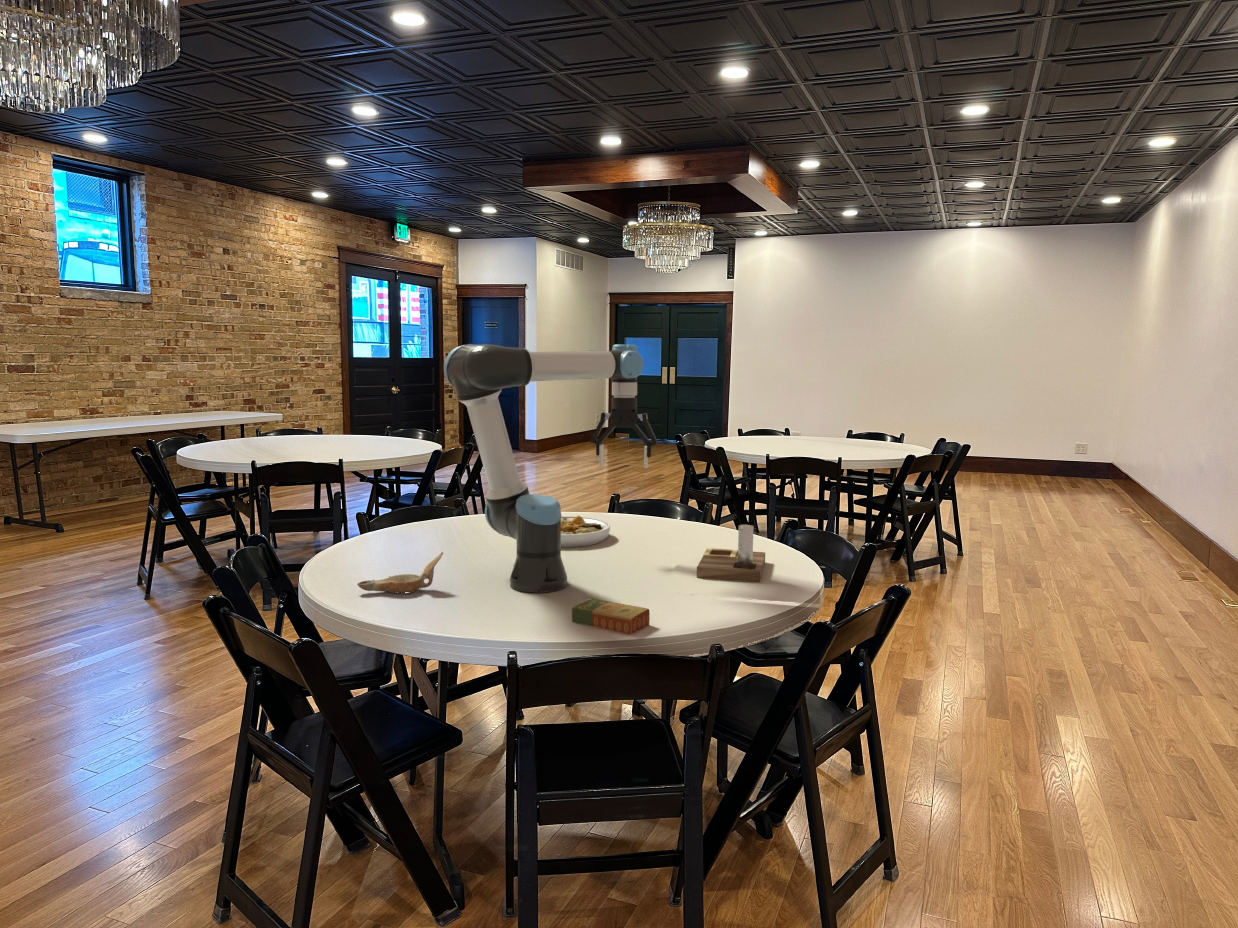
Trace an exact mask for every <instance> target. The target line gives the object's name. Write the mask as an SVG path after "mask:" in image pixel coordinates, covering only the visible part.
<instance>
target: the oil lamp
mask: <svg viewBox="0 0 1238 928" xmlns="http://www.w3.org/2000/svg"><path fill="white" fill-rule="evenodd" d="M443 555H444V552H443V551H441V552H440V553H439V555H437V556H436V557H435V558H434V559H433V560H432V561H430V562H429V563H428V564H427V565H426V567H425V568H424V570H423V571H422V573H421V574H420V575H417V574H412V573H411V574H410V573H407V574H406V573H405V574H397V575H391V576H388V577H387V578H386V577H385V578H384V579H377V580H376V579H372V580H363V581H362V580H361V581H360V582H358V583H356V584H357V586H358V587H359V588H360V589H361V590H362V591H363V590H364V591H366V592H368V591H369V592H383V591H389V592H388V593H393V592H398V593H405V592H412V591H415V592H416V591H417V590H419V589H423V588H424V589H427V588H428V587H430V586H431V585H432V583H433V581H434V573H435V572H434V570H435V567H436V565H438V562H439V561H440V560H441V558H442V557H443ZM425 580H428V582H426V583H425ZM398 593H397V594H398ZM412 593H413V592H412Z"/></svg>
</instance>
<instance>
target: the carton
mask: <svg viewBox="0 0 1238 928" xmlns="http://www.w3.org/2000/svg"><path fill="white" fill-rule="evenodd" d="M650 612H651V611H650V609H649V608H646V607H641V606H636V605H630V604H626V603H625V604H624V603H621V602H615V601H614V602H613V601H609V600H603V599H597V598H595V597H590V598H588V599H587V600H584V601H581V603H578V604H576V605H574V606H572V607H571V619H572V620H571V622H572V623H574V624H580V625H584V626H589V627H592V628H593V627H594V628H598V629H602V630H607V631H612V632H616V633H621V634H625V635H631V636H633V634H636V633H638V632H639V631H641V630H643V629H644V628H646V627H648V626H650V618H651V617H650Z"/></svg>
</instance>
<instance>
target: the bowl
mask: <svg viewBox="0 0 1238 928" xmlns="http://www.w3.org/2000/svg"><path fill="white" fill-rule="evenodd" d="M610 532H611V524H610V523H609V522H607V521H606V520H603V519H599V518H593V517H587V516H581V515H576V516H573V515H572V516H571V515H570V516H569V515H565V516H564V515H561V548H579V547H586V546H592V545H596V544H598V543H601V542H602V541H604V540H605V539H606V538H607V537H608V536H609V534H610Z"/></svg>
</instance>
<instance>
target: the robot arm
mask: <svg viewBox="0 0 1238 928" xmlns="http://www.w3.org/2000/svg"><path fill="white" fill-rule="evenodd" d="M643 370H644V359H643V357H642V355H641V354H640V353H639V352H638V347H637V345H636V344H622V343H621V344H619V343H618V344H617V343H616V344H613V345H612V349H611V350H591V349H589V350H577V351H576V350H575V351H574V350H568V351H567V350H566V351H565V350H564V351H563V350H562V351H561V350H559V351H530V350H528V349H527V348H525V347H512V346H511V347H509V346H502V345H496V344H488V343H487V344H485V343H484V344H472V343H468V344H463V345H460V346H457V347H455V348H453V349H452V350H451V351H450V352H449V353H448V354H447V356H446V357H445V361H444V363H443V373H444V376H445V379H446V380H447V382H448V383H449V384H450V385H451V386H452V387H454V388H455V392H456V396H457V398H458V401H459V402H460V403H462V404H464V405H465V406H466V408H467V413H468V416H469V420H470V424H471V427H472V431H473V434H474V438H475V441H476V445H477V448H478V452H479V455H480V459H481V462H482V466H483V469H484V472H485V473H484V474H485V477H486V480H487V484H488V490H487V492H486V494H485V498H486V505H485V508H484V517H485V520H486V522H487V524H488V525H489V527H490V528H491V529H492V530H493V531H495V532H496V533H498V534H499V535H502V536H504V537H509V538H511V539H514V540H515V541H516V558H515V561H514V564H513V567H512V571H511V573H510V577H509V585H510V588H512V589H514V591H515V590H516V591H519V592H524V593H525V592H526V593H549V592H555V591H559V590H562V589H565V588H566V587H567V586H568V574H567V571H566V569H565V565H564V563H563V562H564V561H563V559H562V556H561V555H562V554H561V549H562V547H561V516H562V509H561V503H560V502H559V501H558V500H557V499H556V498H555V497H552V496H549V495H542V494H538V493H535V494H533V493H532V494H531V493H530V492H529V487H528V484H527V483H526V482H524V481H523V480H521V478H520V476H519V475H520V474H519V471H518V469H517V468H518V467H517V465H516V461H515V460H516V459H515V457H514V452H513V448H512V445H511V443H510V442H511V441H510V438H509V434H508V430H507V427H506V424H505V419H504V416H503V412H502V411H503V410H502V408H501V404H500V401H499V395H500V393H502V389H506V388H507V389H508V388H513V387H514V388H515V387H522V386H524V387H525V386H528V385H529V384H530V383H531V382H546V381H547V382H548V381H549V382H550V381H551V382H552V381H572V380H573V381H575V380H578V381H579V380H595V379H596V380H597V379H600V380H601V379H611V395H612V396H613V397H612V398H611V412H610V413H609V412H605V411H604V412H601V413H600V418H599V419H600V420H599V421H598V424H597V426H596V428H595V430H594V432H593V434H592V435H591V438H590V439H589V442H590V443H592V444H594V445H595V454H596V456H599V459H598V460H599V462H598V463H599V467H598V468H602V467H604V464H605V463H604V461H605V460H604V458H605V457H604V456H605V455H604V454H605V453H604V452H605V449H604V447H605V444H602V443H603V442H604V441H605V440H606V439H607V438H608V437H609V435H610V434H611V433H612V432H613V431H614V429H615V428H620V429H622V428H624V429H629V428H631V429H632V430H634V432H635V433H636V434H637V436H638V437H639V438H640V439H641V440H642V441H643V443H644V444H645V446H643V447H644V449H643V469H647V468H649V467H648V466H649V458H651V457H652V448H653V447H654V446H655V445H657V444H658V442H659V441H658V439H657V437H656V434H655V433H654V431H653V428H652V425H651V424H650V422H649V417H648V413H647V412H645V413H640V414H639V413H638V405H637V404H638V398H637V397H636V396H638V377H639V376H640V375H641V374H642V372H643ZM609 418H610V419H611V421H612V423H611V424H610V425H609V426H608V427H607V429H606V430H605V431H604V432H603V434H602V435H601V436H600V437H599V435H600V433H601V431H602V430H603V427H604V424H605V423H606V421H607V420H609ZM638 419H639V420H640V421H641V422H642V423H643V425H644V428H645V431H646V432H647V435H648V436H647V435H646V434H645V432H643V430H642V429H641V427H639V425H638V423H636V422H637V421H638ZM598 437H599V438H598ZM648 437H649V438H650V439H649V438H648ZM652 446H653V447H652Z"/></svg>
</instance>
